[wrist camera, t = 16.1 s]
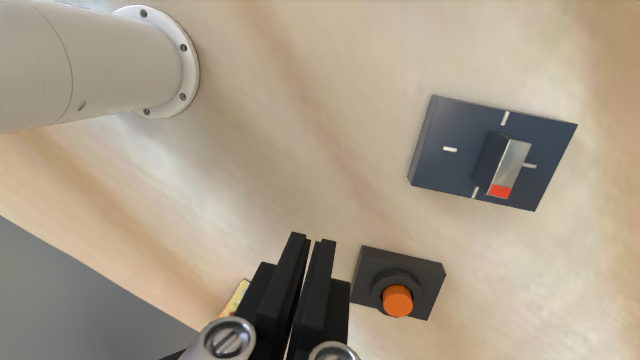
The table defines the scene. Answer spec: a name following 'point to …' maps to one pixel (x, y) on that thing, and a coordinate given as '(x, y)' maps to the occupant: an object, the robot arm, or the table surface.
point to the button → (397, 300)
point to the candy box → (234, 300)
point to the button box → (396, 280)
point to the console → (467, 143)
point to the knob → (500, 163)
